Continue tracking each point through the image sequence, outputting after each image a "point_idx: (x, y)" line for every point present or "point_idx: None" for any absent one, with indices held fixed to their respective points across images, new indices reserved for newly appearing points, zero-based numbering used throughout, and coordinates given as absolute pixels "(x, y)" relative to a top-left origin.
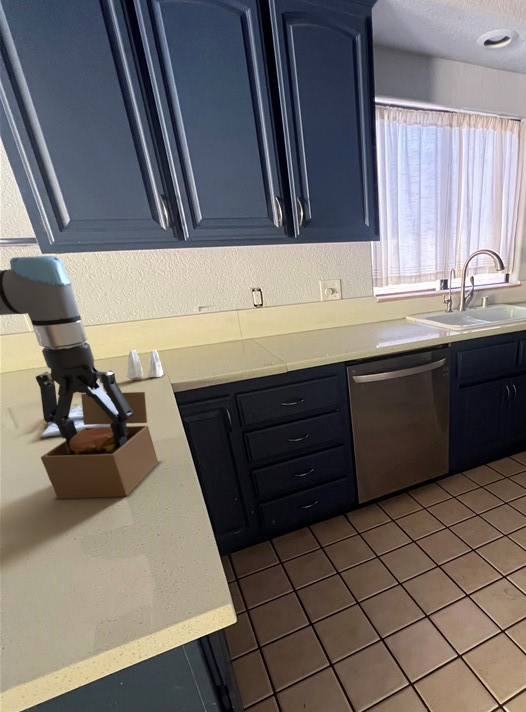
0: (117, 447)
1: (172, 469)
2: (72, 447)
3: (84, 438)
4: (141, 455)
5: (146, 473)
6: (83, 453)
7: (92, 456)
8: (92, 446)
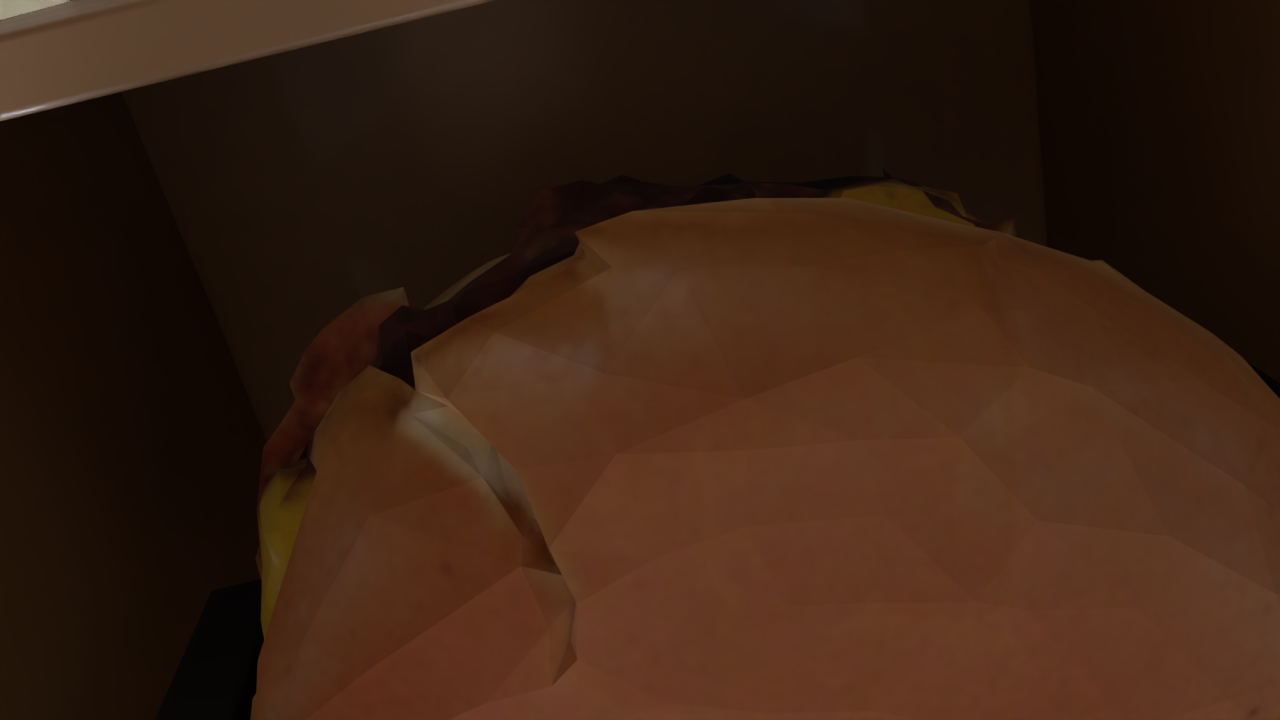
0: (253, 656)
1: None
2: (1068, 273)
3: (841, 589)
4: None
5: None
6: (694, 204)
7: (129, 5)
8: (442, 382)
